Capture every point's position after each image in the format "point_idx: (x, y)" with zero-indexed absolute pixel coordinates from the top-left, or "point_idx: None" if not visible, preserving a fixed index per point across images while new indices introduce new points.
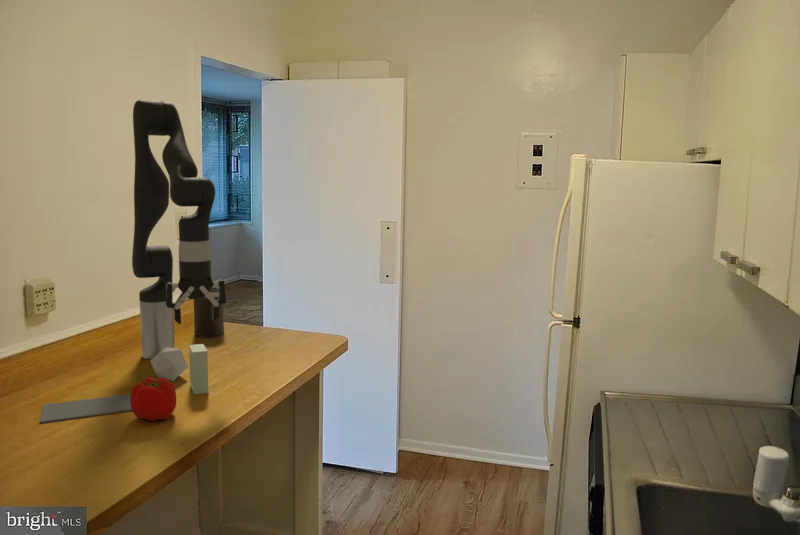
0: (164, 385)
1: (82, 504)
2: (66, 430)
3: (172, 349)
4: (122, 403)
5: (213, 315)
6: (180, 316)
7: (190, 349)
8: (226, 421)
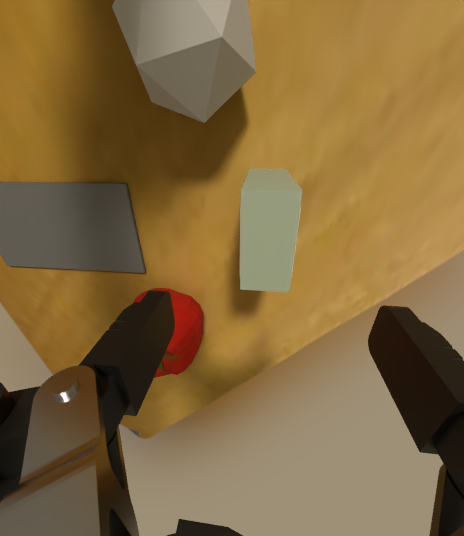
0: (173, 372)
1: (133, 429)
2: (61, 302)
3: (185, 18)
4: (112, 237)
5: (383, 378)
6: (156, 368)
7: (240, 236)
8: (273, 359)
